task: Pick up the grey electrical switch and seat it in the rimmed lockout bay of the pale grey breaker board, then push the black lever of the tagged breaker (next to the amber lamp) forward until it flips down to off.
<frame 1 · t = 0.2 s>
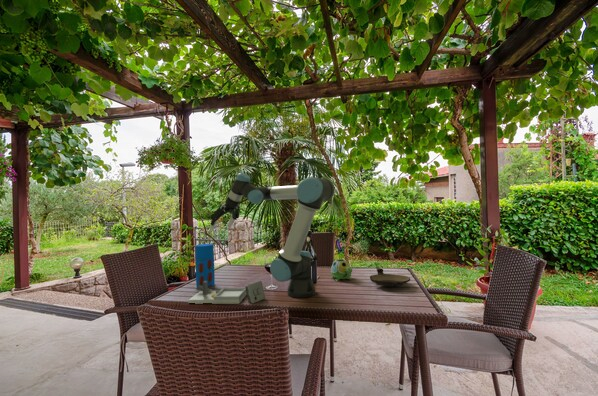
hand: (220, 228, 176), 35 cm above the table, tool tilted 35°, fingers open, 13 cm apart
electrical switch: (255, 300, 152), on the table
oil lamp: (389, 284, 173), on the table
board: (219, 298, 156), on the table
breaker tagged: (205, 289, 154), point 6 cm above the table, hinge at 0.0°
blue tall box: (205, 286, 182), on the table
breaker off: (204, 289, 160), point 4 cm above the table, hinge at 70.0°
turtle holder: (342, 279, 187), on the table
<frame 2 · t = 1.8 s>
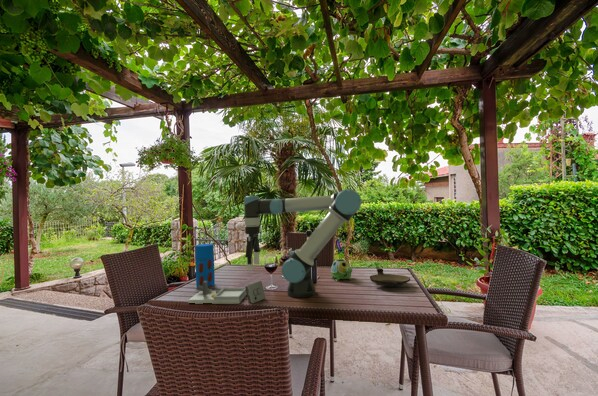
hand: (253, 267, 152), 17 cm above the table, tool pointing down, fingers open, 13 cm apart
nothing on the table moved.
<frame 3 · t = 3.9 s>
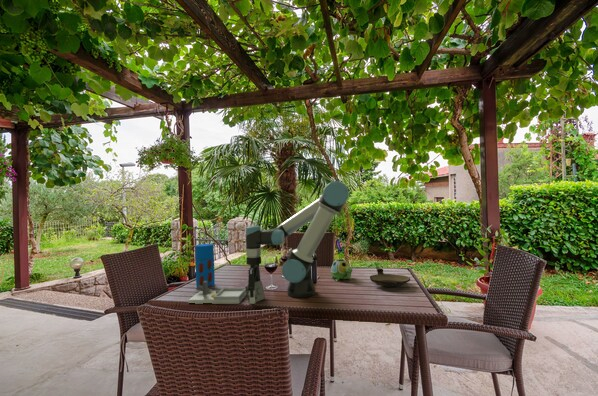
hand: (255, 299, 152), 0 cm above the table, tool pointing down, fingers closed on electrical switch, 10 cm apart
electrical switch: (255, 300, 152), on the table, touching gripper
everything else where it was.
when the fingers open (4 cm above the table, at t = 9.2 s): electrical switch drops 2 cm, resting on board.
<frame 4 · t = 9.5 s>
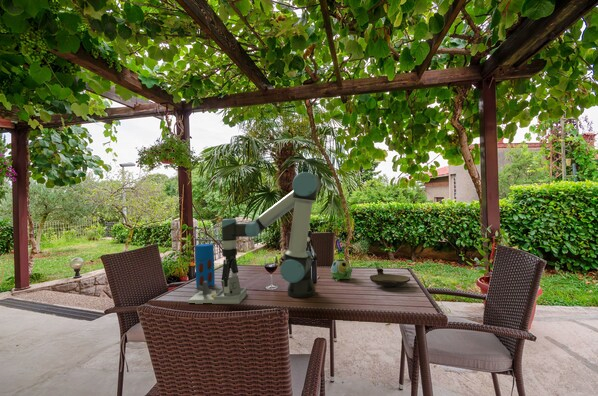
hand: (230, 288, 156), 5 cm above the table, tool pointing down, fingers open, 13 cm apart
electrical switch: (231, 295, 156), point 2 cm above the table, touching board
everything else where it was.
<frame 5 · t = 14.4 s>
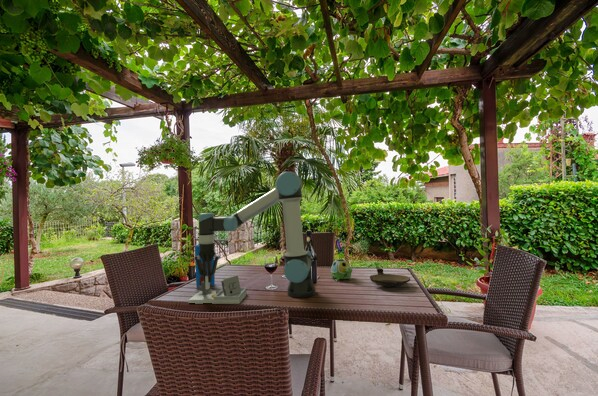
hand: (207, 288, 154), 6 cm above the table, tool pointing down, fingers closed
breaker tagged: (204, 289, 154), point 6 cm above the table, hinge at 6.9°, touching gripper
everything else where it was.
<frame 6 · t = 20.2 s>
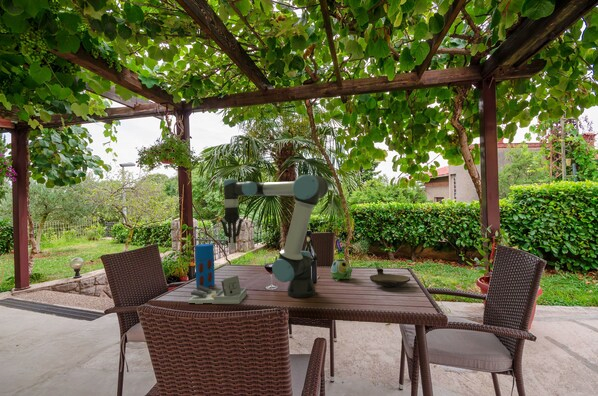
hand: (232, 249, 166), 24 cm above the table, tool pointing down, fingers closed
breaker tagged: (199, 293, 154), point 4 cm above the table, hinge at 77.6°
everything else where it was.
at the end: electrical switch inside the target area on the board (0.3 cm from its centre), point 1.8 cm above the board's base; breaker tagged at +78° (first picture: +0°); the gripper is holding nothing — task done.
